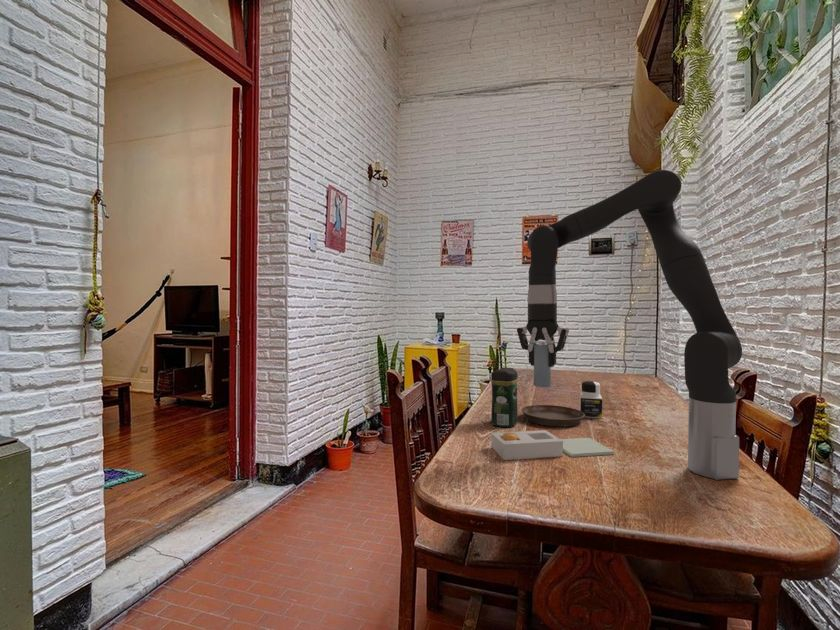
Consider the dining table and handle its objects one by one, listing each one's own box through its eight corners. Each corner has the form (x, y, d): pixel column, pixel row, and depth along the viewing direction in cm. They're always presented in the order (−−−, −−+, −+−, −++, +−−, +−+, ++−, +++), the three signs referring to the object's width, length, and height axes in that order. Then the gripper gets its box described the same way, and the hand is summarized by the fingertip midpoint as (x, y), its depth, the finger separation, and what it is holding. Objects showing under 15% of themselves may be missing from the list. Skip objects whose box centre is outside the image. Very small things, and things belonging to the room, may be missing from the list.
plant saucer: (561, 411, 162) (561, 402, 162) (597, 426, 143) (598, 416, 142) (511, 415, 157) (511, 406, 157) (541, 431, 137) (541, 420, 137)
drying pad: (614, 454, 115) (614, 451, 115) (571, 457, 113) (571, 454, 113) (589, 440, 127) (589, 437, 127) (550, 442, 125) (550, 439, 125)
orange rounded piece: (513, 443, 119) (513, 432, 119) (519, 447, 115) (519, 436, 115) (501, 444, 118) (501, 432, 118) (506, 448, 115) (506, 436, 115)
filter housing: (545, 444, 124) (545, 430, 124) (562, 456, 114) (562, 441, 114) (491, 447, 121) (491, 433, 121) (504, 460, 111) (504, 444, 111)
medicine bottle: (580, 417, 153) (580, 383, 153) (579, 412, 160) (579, 379, 160) (602, 418, 151) (602, 384, 151) (600, 413, 158) (600, 380, 158)
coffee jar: (497, 419, 151) (497, 365, 151) (520, 422, 147) (520, 367, 147) (487, 426, 142) (487, 369, 142) (511, 429, 139) (511, 370, 138)
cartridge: (552, 385, 118) (553, 341, 118) (547, 387, 115) (547, 342, 114) (537, 383, 121) (537, 340, 120) (531, 385, 117) (531, 341, 117)
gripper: (573, 302, 116) (573, 366, 116) (522, 302, 124) (522, 362, 125) (564, 302, 110) (564, 369, 110) (511, 302, 118) (511, 365, 119)
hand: (542, 365), depth 118 cm, fingers closed on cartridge, 4 cm apart
